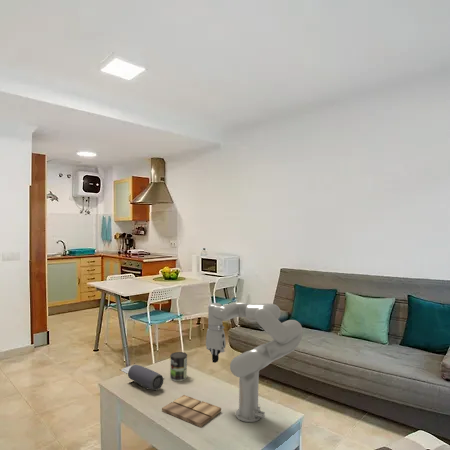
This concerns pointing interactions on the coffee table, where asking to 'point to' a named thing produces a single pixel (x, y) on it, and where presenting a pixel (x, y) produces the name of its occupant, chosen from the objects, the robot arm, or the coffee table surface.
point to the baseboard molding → (128, 370)
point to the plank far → (187, 402)
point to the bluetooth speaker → (145, 377)
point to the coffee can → (178, 366)
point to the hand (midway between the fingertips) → (215, 361)
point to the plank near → (207, 409)
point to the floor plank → (186, 414)
